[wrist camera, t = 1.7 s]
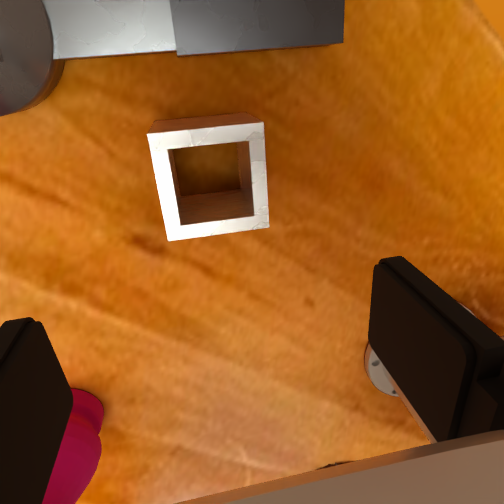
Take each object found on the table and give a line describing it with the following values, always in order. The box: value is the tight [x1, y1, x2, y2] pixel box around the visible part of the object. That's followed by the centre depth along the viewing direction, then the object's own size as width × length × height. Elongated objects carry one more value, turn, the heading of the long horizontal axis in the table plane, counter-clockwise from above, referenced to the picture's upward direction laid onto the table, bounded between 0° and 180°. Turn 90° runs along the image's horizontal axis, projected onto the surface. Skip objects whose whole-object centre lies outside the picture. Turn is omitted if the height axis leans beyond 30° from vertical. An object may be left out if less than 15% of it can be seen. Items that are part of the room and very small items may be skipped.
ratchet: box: [0, 0, 345, 116], centre depth 19 cm, size 26×9×8 cm, turn 94°
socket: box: [147, 112, 269, 241], centre depth 24 cm, size 6×6×6 cm
